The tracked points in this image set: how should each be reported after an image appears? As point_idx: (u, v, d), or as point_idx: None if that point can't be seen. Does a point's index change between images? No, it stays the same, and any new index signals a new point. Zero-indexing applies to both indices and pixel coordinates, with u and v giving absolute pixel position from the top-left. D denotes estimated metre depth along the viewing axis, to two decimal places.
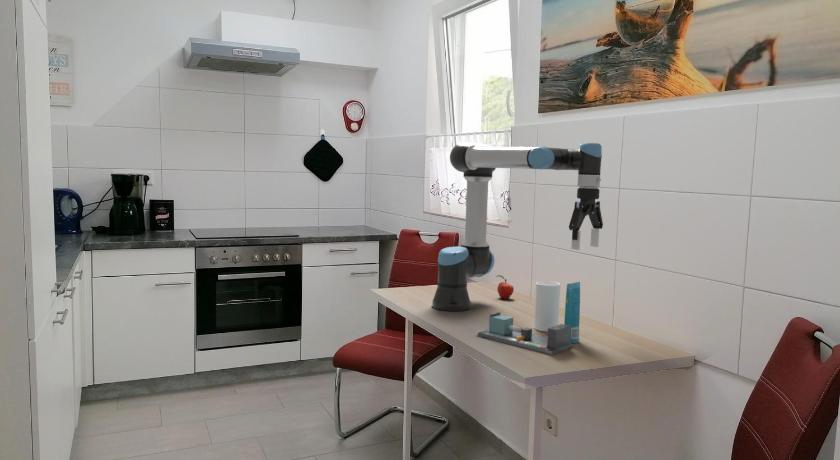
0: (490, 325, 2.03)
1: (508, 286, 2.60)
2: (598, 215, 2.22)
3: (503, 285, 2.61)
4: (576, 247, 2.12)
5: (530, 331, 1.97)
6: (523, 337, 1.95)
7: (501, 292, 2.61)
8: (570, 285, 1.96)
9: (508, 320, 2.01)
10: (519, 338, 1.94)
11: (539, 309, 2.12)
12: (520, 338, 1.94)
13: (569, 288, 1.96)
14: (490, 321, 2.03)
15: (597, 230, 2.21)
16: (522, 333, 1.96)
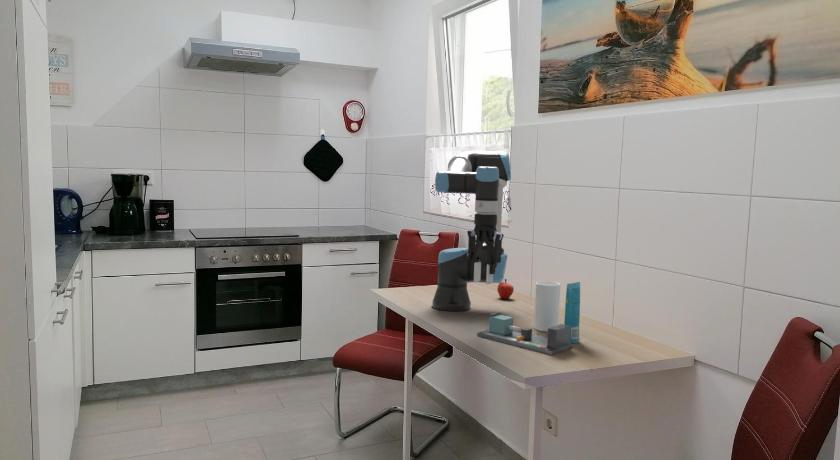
0: (490, 325, 2.03)
1: (508, 286, 2.60)
2: None
3: (503, 285, 2.61)
4: None
5: (530, 331, 1.97)
6: (523, 337, 1.95)
7: (501, 292, 2.61)
8: (570, 285, 1.96)
9: (508, 320, 2.01)
10: (519, 338, 1.94)
11: (539, 309, 2.12)
12: (520, 338, 1.94)
13: (569, 288, 1.96)
14: (490, 321, 2.03)
15: None
16: (522, 333, 1.96)
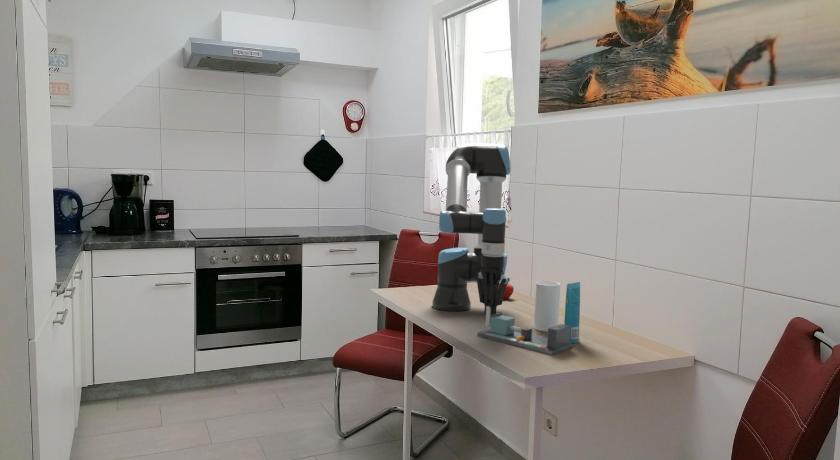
0: (492, 325, 2.03)
1: (508, 286, 2.60)
2: None
3: None
4: None
5: (530, 331, 1.97)
6: (523, 337, 1.95)
7: None
8: (570, 285, 1.96)
9: (509, 320, 2.01)
10: (519, 338, 1.94)
11: (539, 309, 2.12)
12: (520, 338, 1.94)
13: (569, 288, 1.96)
14: (491, 321, 2.03)
15: None
16: (522, 333, 1.96)
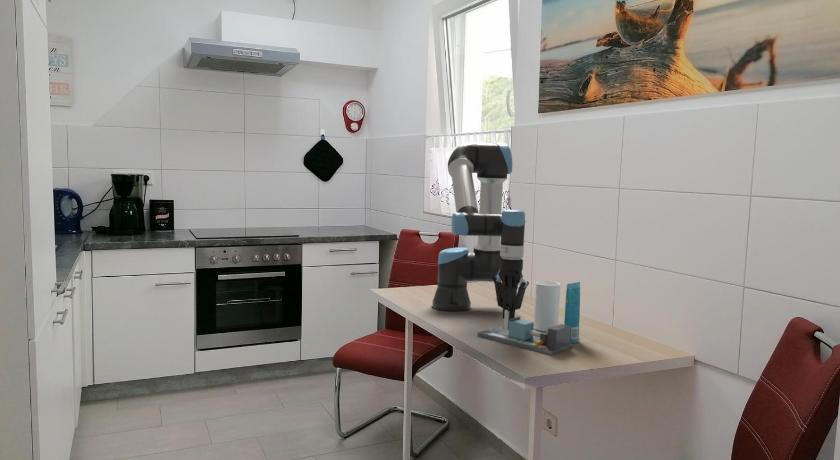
0: (510, 330, 1.98)
1: None
2: None
3: None
4: None
5: None
6: (542, 342, 1.91)
7: None
8: (570, 285, 1.96)
9: (529, 325, 1.96)
10: (538, 343, 1.89)
11: (539, 309, 2.12)
12: (539, 343, 1.89)
13: (569, 288, 1.96)
14: (510, 326, 1.98)
15: None
16: (541, 337, 1.92)
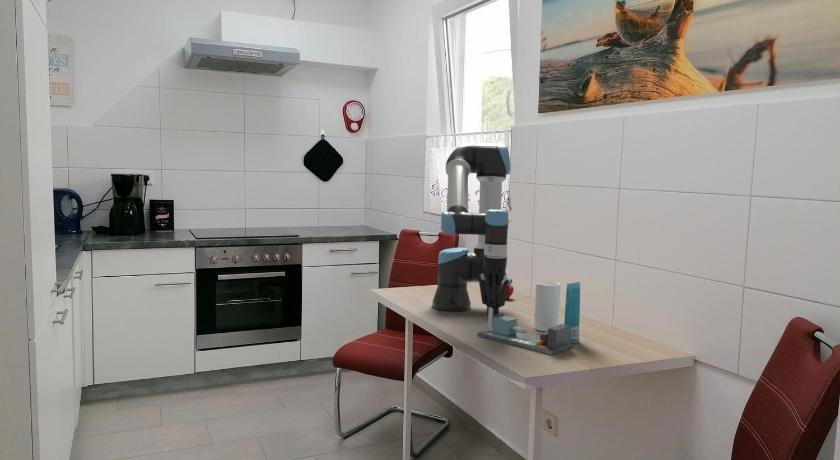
0: (494, 326, 2.02)
1: None
2: None
3: None
4: None
5: None
6: (542, 342, 1.91)
7: None
8: (570, 285, 1.96)
9: (512, 321, 2.00)
10: (538, 343, 1.89)
11: (539, 309, 2.12)
12: (539, 343, 1.89)
13: (569, 288, 1.96)
14: (494, 322, 2.02)
15: None
16: (541, 337, 1.92)
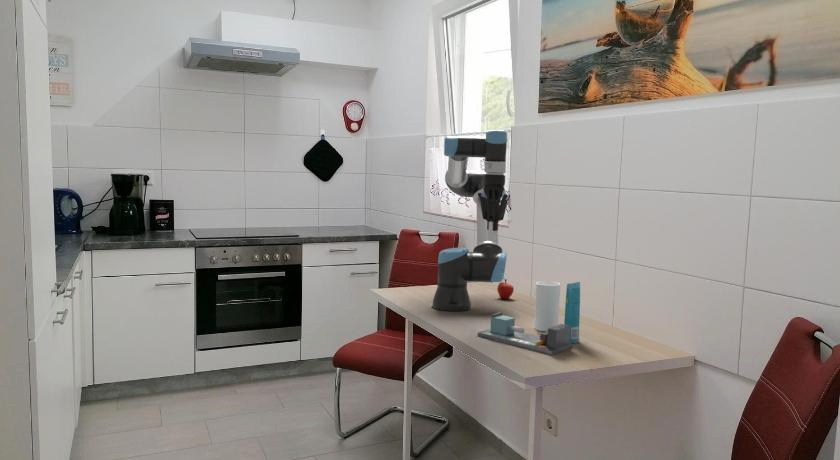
0: (492, 325, 2.03)
1: (508, 286, 2.60)
2: None
3: (503, 285, 2.61)
4: None
5: None
6: (542, 342, 1.91)
7: (501, 292, 2.61)
8: (570, 285, 1.96)
9: (510, 320, 2.01)
10: (538, 343, 1.89)
11: (539, 309, 2.12)
12: (539, 343, 1.89)
13: (569, 288, 1.96)
14: (491, 321, 2.03)
15: None
16: (541, 337, 1.92)
